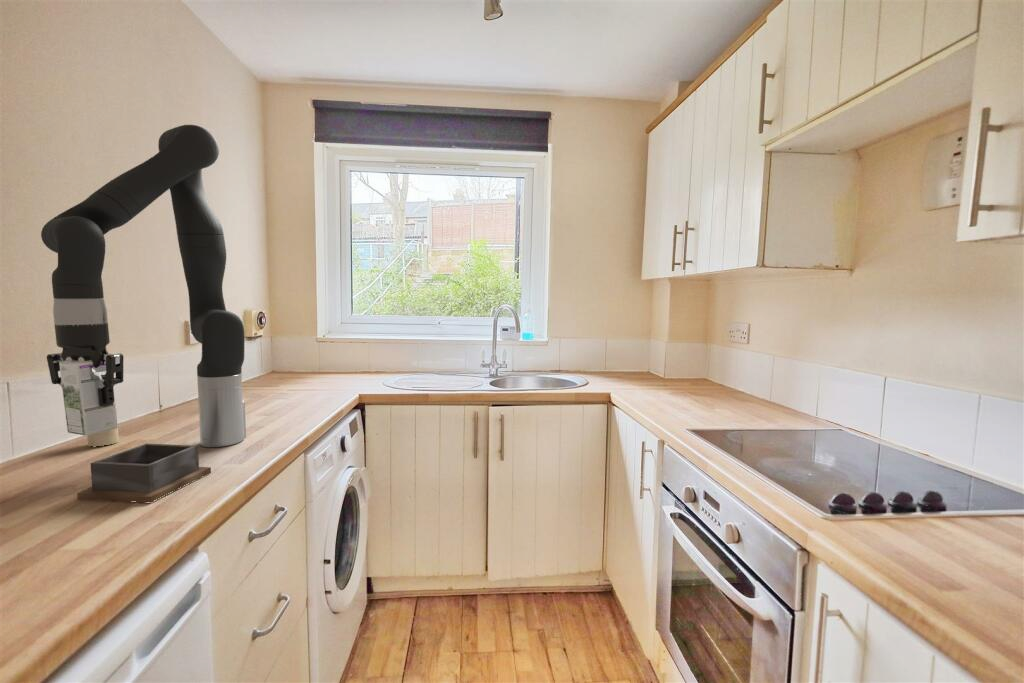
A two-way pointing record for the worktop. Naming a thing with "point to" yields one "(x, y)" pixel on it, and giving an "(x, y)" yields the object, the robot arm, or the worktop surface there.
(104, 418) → the syrup box
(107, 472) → the holder
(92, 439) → the candle
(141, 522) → the worktop surface
